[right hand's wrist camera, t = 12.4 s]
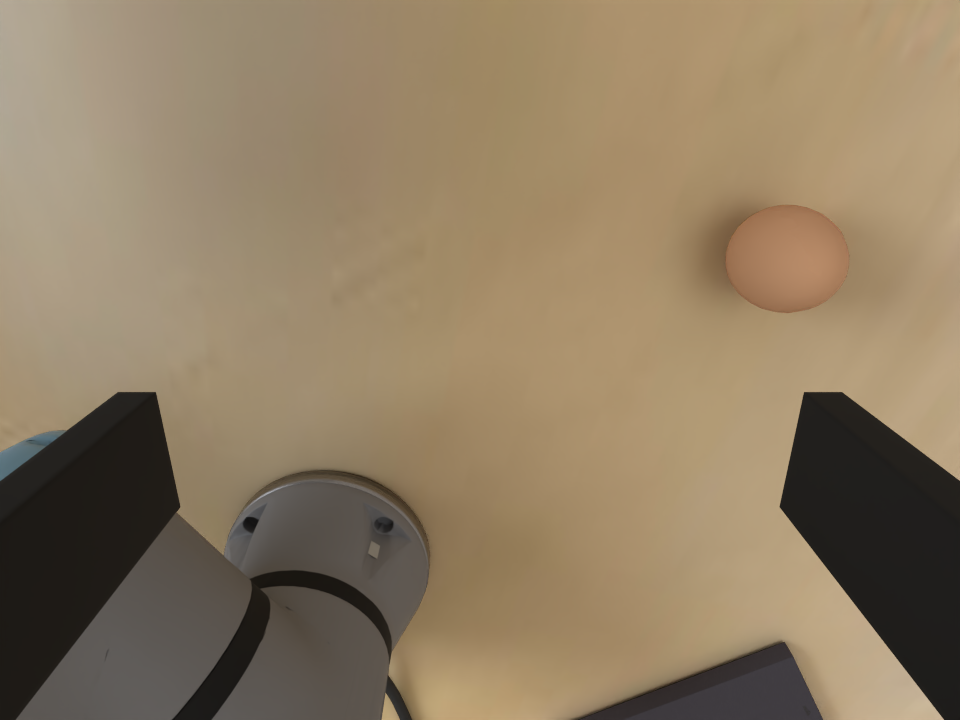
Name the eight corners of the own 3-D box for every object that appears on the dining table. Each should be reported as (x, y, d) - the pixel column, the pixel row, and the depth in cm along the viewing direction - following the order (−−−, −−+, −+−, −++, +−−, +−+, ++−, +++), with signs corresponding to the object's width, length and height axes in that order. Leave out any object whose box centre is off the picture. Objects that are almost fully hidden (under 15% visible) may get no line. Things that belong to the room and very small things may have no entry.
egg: (713, 301, 40) (766, 343, 33) (703, 210, 38) (757, 233, 30) (806, 280, 39) (882, 317, 32) (802, 187, 37) (881, 204, 30)
